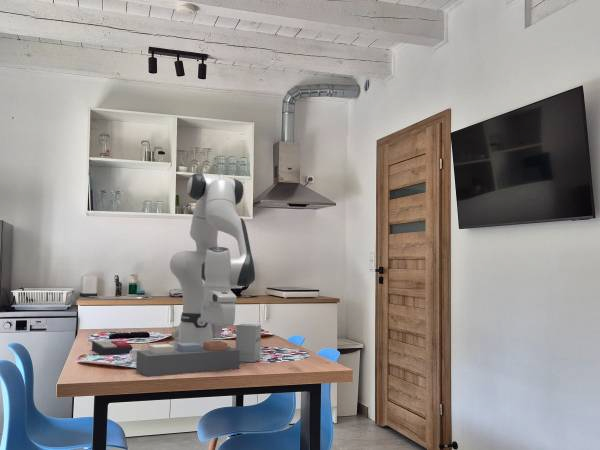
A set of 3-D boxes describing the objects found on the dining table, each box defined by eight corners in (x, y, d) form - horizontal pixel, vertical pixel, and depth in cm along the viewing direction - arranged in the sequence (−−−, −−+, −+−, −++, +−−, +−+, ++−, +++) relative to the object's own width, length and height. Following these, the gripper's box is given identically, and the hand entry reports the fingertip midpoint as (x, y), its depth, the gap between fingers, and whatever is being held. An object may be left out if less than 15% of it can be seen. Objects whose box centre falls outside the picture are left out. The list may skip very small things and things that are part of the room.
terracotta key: (202, 355, 187) (203, 342, 187) (219, 354, 190) (220, 341, 190) (209, 357, 182) (210, 344, 182) (227, 356, 185) (227, 343, 185)
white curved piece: (153, 362, 196) (153, 350, 196) (131, 364, 190) (132, 352, 191) (141, 358, 202) (141, 347, 202) (120, 361, 197) (120, 349, 197)
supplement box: (255, 362, 196) (255, 325, 197) (234, 361, 198) (235, 325, 199) (260, 359, 203) (261, 323, 204) (241, 358, 205) (241, 323, 206)
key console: (136, 370, 178) (136, 350, 179) (224, 363, 194) (224, 345, 194) (147, 376, 168) (147, 356, 168) (238, 368, 183) (239, 350, 184)
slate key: (176, 356, 182) (177, 343, 182) (194, 355, 185) (194, 342, 185) (182, 359, 177) (183, 345, 177) (200, 358, 180) (201, 344, 180)
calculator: (103, 346, 205) (92, 339, 218) (102, 358, 205) (91, 350, 218) (133, 344, 212) (120, 337, 224) (132, 356, 212) (119, 348, 224)
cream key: (148, 358, 177) (149, 345, 178) (167, 357, 181) (167, 343, 181) (154, 361, 172) (154, 347, 173) (173, 360, 175) (174, 346, 176)
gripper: (196, 294, 194) (195, 335, 193) (220, 297, 177) (219, 342, 176) (213, 294, 198) (212, 334, 197) (239, 297, 180) (238, 340, 179)
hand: (216, 338), depth 186 cm, fingers closed
